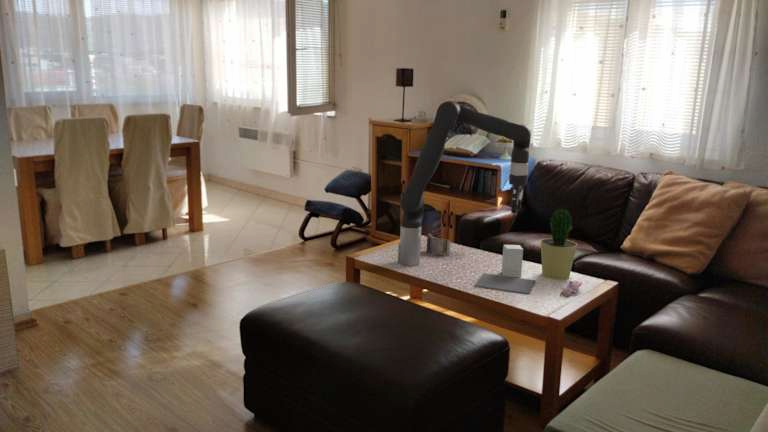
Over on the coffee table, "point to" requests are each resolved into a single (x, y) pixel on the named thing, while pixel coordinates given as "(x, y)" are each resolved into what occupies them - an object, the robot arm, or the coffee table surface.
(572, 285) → the pink unicorn figurine
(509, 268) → the supplement box
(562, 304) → the coffee table surface
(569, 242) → the potted cactus
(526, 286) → the mat
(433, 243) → the grey upright block
